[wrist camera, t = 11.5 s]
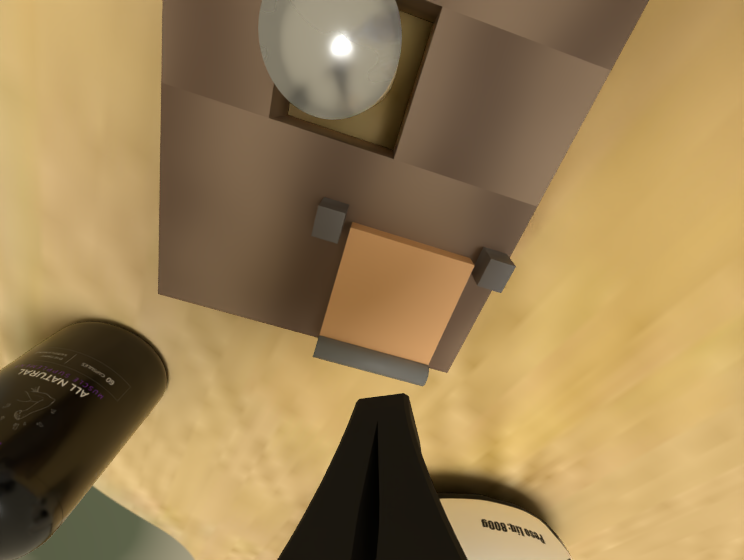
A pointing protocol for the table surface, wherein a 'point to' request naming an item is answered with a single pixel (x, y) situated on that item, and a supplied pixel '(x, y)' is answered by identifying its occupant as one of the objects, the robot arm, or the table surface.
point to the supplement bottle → (67, 423)
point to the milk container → (500, 530)
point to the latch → (390, 304)
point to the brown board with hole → (368, 153)
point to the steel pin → (331, 52)
